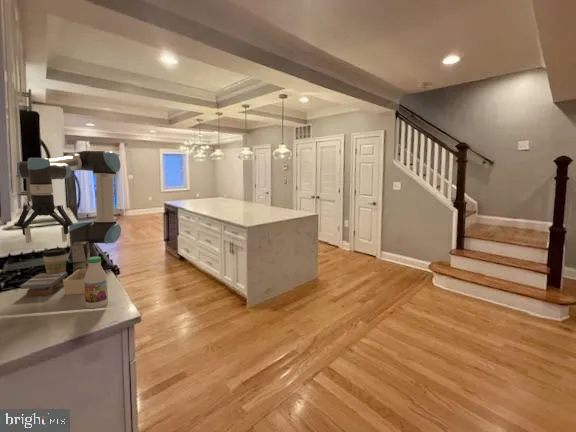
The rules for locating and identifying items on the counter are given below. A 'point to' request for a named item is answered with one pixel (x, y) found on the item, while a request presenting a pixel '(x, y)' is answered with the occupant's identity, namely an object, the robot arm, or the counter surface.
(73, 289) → the tub
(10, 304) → the counter surface
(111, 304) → the counter surface
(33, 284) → the lid
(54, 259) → the coffee cup
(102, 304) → the milk bottle
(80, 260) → the coffee box
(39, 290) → the stand
